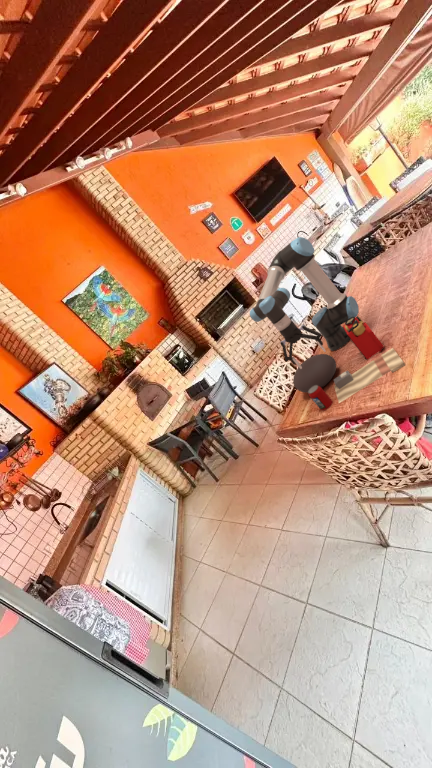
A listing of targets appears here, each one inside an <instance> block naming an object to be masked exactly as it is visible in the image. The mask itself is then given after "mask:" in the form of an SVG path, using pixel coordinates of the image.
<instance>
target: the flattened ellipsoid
mask: <svg viewBox="0 0 432 768" xmlns="http://www.w3.org/2000/svg"><path fill="white" fill-rule="evenodd" d="M300 365H301V366H302V369H300V368H299V367H298V366H297V369H296V371H295V372H294V375H293V379H292V380H293V385H294V388H295V389H296V390H297V391H299V392H300V393H301V392H302V393H308V391H309V389H310V388H311V387H312V386H314V385H317V386H320V387H321V388H322V389H323V388H324V387H325V386H326V385H327V384H328V383H329V382H330V381H331V380H332V379H333V377H334V376H335V374H336V370H337V362H336V359H335V358H334V357H333V356H332V355H330V354H327V353H320V354H319V353H318V354H316V355H313V356H310V357H308V358H307V359H305V360H304V361H303V362H301V364H300Z"/></svg>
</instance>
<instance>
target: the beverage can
mask: <svg viewBox="0 0 432 768" xmlns="http://www.w3.org/2000/svg"><path fill="white" fill-rule="evenodd" d="M307 394H308V397H309V398H310V399H311V400H312V401H313V402H314V403H315V405H316V406H317V407H318V408H319V409H320V410H321V411H326V410H328V409H329V408H330V407H331V406H332V405H333V403H334V402H333V400H332V398H331V397H330V396H329V395H328V394H327V393H326V391H325V390H324V389H323V387H322V388H321V387H320V386H317V385H314V386H312V387H311V388H310V389H309V391H308V392H307Z"/></svg>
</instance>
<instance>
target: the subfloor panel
mask: <svg viewBox="0 0 432 768" xmlns="http://www.w3.org/2000/svg"><path fill="white" fill-rule="evenodd" d="M405 366H406V363H405V362H404V360H403V359H402V358H401V357H400V355H399V354H398V352H397V351H396V350H395V349H394V348H393V347H391V349H388V350H387V351H386V352H384V353H382V354H380V355H379V356H378V357H376V358H375V359H373V360H372V361H370V362H369V363H367V364H365V365H364V366H362V367H361V368H360V369H358V370H356V371H355V372H353V373H352V374H351V375H352V377H353V379H354V380H353V381H351V382H349V383H348V384H346V385H345V386H343V387H342V388H340V389H339V388H338V387H337V386H336V385H335V384H334V385H333V387H334V390H335V394H336V398H337V401H338V404H340V403H342V402H344V401H345V400H347V399H349V398H350V397H352V396H353V395H355V394H356V393H358V392H360V391H362V389H364V388H366V387H368V386H369V385H371V384H372V383H375V381H378V380H379V379H380V378H382V377H385V375H387V374H389V373H390V372H391V373H395V372H397V371H398V370H399V369H401V368H403V367H405Z"/></svg>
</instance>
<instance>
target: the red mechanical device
mask: <svg viewBox="0 0 432 768" xmlns="http://www.w3.org/2000/svg"><path fill="white" fill-rule="evenodd" d="M342 327H343V329H344V330H345V332H346V334H347V336H348V338H350V341H351V342H352V344H353V345H354V346H355V347H356V348H357V349H358V351H359V352H360V353H361V355H362V357H364V359H366V361H367V360H369V359H370V358H371V357H373V356H374V355H376V354H378V353H379V354H380V353H381V352H383V351H382V349H384V348H385V346H384V345H383V343H382V341H381V340H380V339H379V338H378V337H377V336H376V334H375V333H374V331H373V330H372V329H371V328H370V326H369V325H368V324H367V323H366V322H365V321H363V320H362V319H361V317H360V316H358V315H357V316H356V317H351V318H349V319H348V320H347V321H346V322H345V323H344V325H342Z"/></svg>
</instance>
